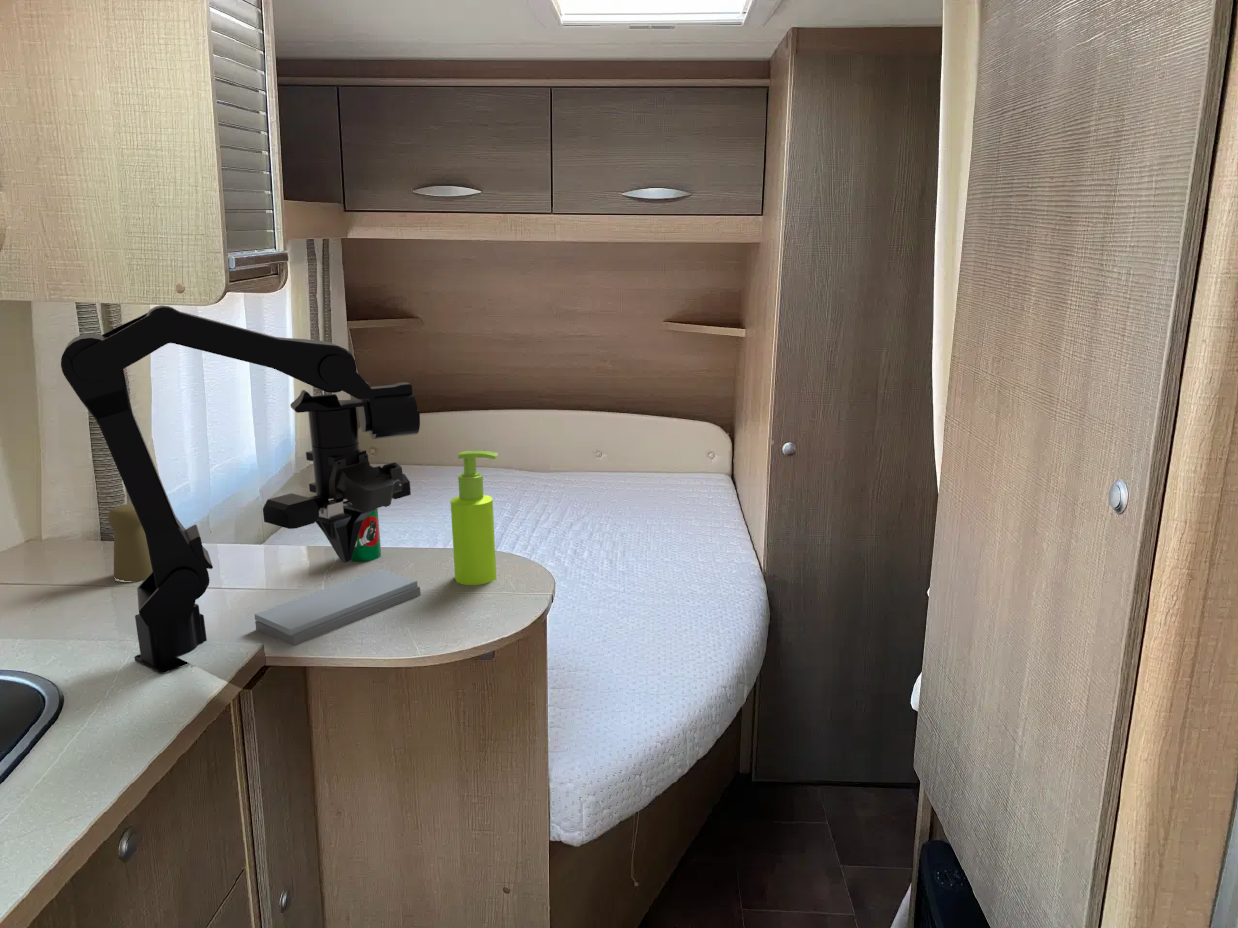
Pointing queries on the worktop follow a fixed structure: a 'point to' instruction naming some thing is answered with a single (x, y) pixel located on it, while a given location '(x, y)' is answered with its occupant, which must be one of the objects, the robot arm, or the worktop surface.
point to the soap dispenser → (473, 525)
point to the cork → (129, 544)
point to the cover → (334, 601)
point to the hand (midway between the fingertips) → (346, 561)
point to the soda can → (368, 540)
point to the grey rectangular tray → (338, 619)
